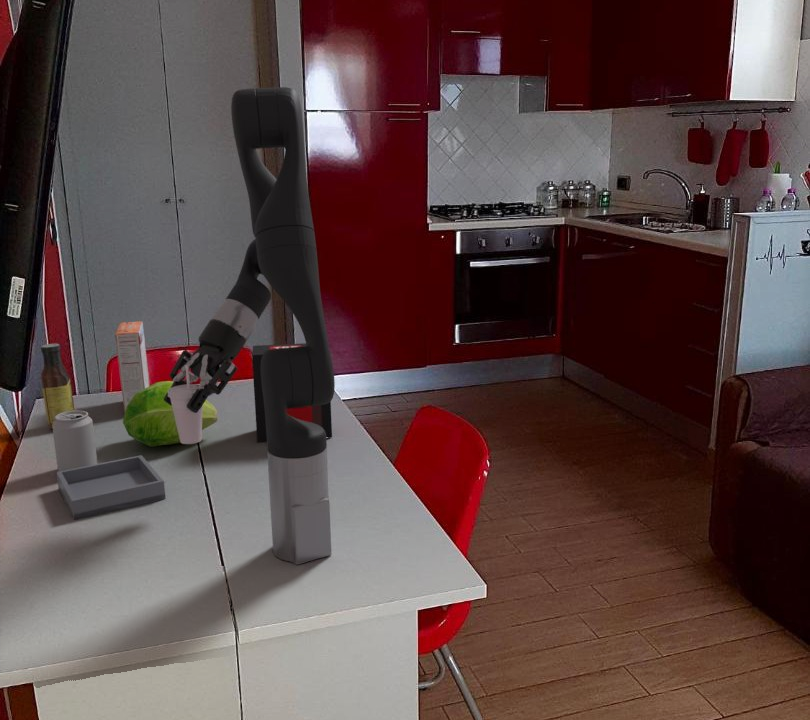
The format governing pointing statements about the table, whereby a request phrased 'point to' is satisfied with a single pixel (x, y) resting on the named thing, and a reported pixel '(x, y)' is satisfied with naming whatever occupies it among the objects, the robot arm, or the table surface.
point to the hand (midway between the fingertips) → (179, 406)
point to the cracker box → (131, 359)
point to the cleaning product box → (309, 413)
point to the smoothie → (186, 412)
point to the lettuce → (158, 416)
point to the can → (74, 440)
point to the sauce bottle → (55, 384)
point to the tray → (110, 486)
